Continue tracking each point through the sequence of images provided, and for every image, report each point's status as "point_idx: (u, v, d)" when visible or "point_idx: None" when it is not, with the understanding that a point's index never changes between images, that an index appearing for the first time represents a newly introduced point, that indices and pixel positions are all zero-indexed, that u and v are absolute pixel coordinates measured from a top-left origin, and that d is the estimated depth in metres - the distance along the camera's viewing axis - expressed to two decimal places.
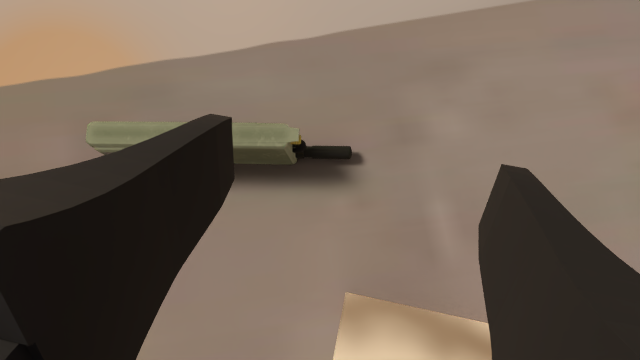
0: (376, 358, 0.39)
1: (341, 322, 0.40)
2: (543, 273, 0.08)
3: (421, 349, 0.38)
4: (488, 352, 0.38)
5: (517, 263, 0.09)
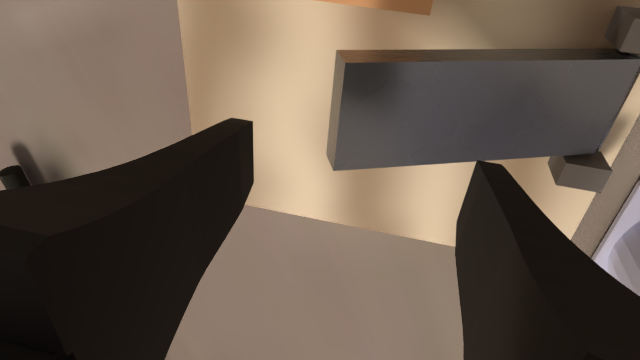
0: (291, 152, 0.21)
1: (246, 203, 0.23)
2: (507, 266, 0.08)
3: (259, 73, 0.19)
4: None
5: (487, 256, 0.09)
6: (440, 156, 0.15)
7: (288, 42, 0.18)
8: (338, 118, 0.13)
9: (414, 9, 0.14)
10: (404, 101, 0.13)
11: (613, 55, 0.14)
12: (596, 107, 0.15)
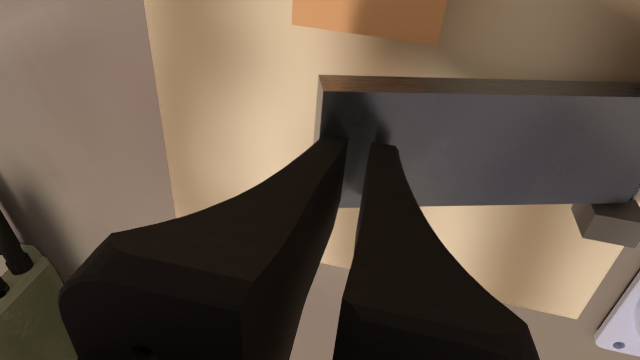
0: None
1: None
2: None
3: (241, 102, 0.16)
4: None
5: None
6: (439, 198, 0.13)
7: (273, 69, 0.15)
8: None
9: (418, 38, 0.12)
10: (395, 136, 0.12)
11: None
12: (630, 151, 0.13)
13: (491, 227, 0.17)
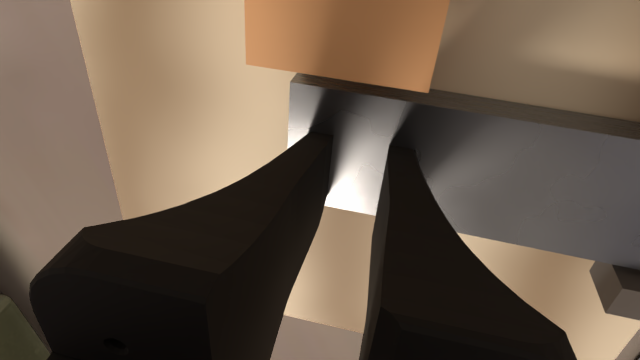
0: None
1: None
2: (383, 241, 0.08)
3: (199, 145, 0.14)
4: None
5: (380, 234, 0.09)
6: None
7: (234, 108, 0.13)
8: (288, 141, 0.12)
9: (404, 83, 0.09)
10: (362, 139, 0.11)
11: None
12: None
13: None
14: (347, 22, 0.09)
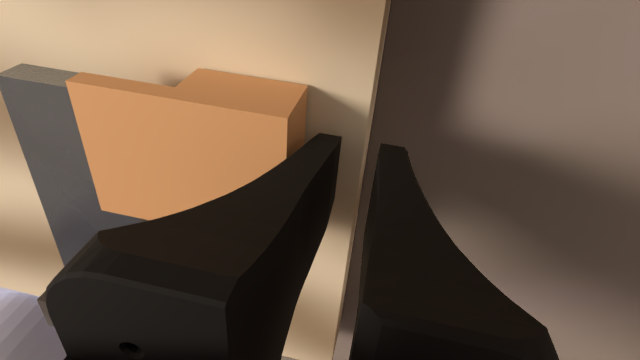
0: None
1: None
2: None
3: None
4: None
5: (370, 233, 0.09)
6: (42, 185, 0.14)
7: (68, 5, 0.12)
8: (56, 84, 0.12)
9: (101, 196, 0.13)
10: None
11: None
12: None
13: (14, 221, 0.17)
14: (127, 164, 0.12)
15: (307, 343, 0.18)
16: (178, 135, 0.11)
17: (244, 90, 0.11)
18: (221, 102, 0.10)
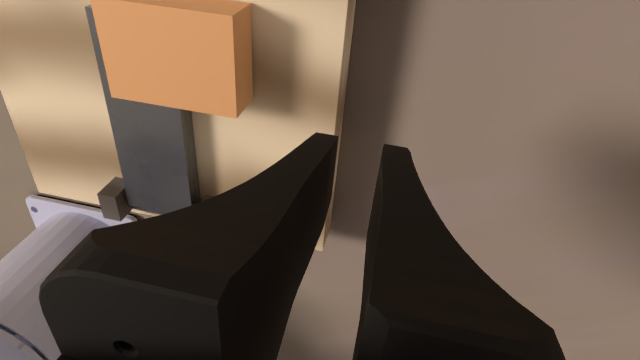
0: None
1: None
2: (375, 239, 0.08)
3: None
4: None
5: (374, 233, 0.09)
6: (110, 94, 0.20)
7: None
8: None
9: (111, 85, 0.18)
10: None
11: (194, 201, 0.23)
12: (160, 198, 0.22)
13: (79, 134, 0.23)
14: (129, 57, 0.17)
15: None
16: (163, 33, 0.16)
17: (207, 3, 0.16)
18: (191, 8, 0.16)
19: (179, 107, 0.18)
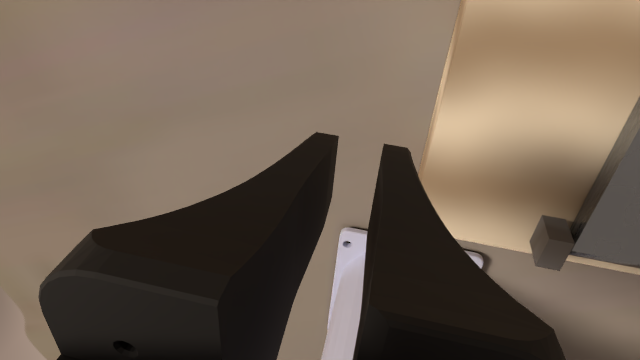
0: None
1: None
2: (375, 239, 0.08)
3: None
4: None
5: (374, 234, 0.09)
6: None
7: None
8: None
9: None
10: None
11: None
12: (629, 244, 0.18)
13: (524, 165, 0.18)
14: None
15: None
16: None
17: None
18: None
19: None
